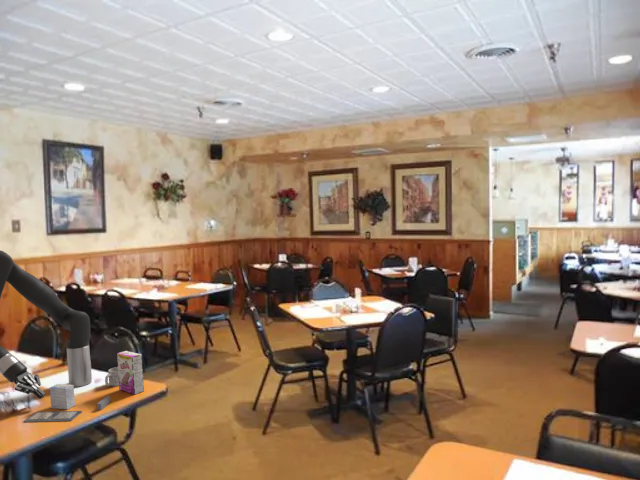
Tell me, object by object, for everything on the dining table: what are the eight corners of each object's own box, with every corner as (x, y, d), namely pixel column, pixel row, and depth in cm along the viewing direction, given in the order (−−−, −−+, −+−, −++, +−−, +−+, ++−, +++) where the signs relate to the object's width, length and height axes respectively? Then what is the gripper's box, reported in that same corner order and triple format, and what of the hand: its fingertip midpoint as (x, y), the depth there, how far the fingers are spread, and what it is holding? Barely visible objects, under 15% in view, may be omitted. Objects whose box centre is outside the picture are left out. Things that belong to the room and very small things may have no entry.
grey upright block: (75, 405, 199) (74, 384, 198) (67, 410, 195) (65, 388, 194) (59, 404, 201) (57, 383, 201) (50, 408, 197) (49, 387, 196)
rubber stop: (106, 402, 201) (106, 396, 201) (110, 402, 201) (110, 396, 201) (97, 410, 193) (96, 403, 193) (101, 410, 193) (100, 403, 193)
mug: (116, 380, 227) (115, 366, 227) (128, 381, 225) (127, 367, 225) (100, 388, 218) (99, 373, 218) (112, 389, 216) (111, 374, 215)
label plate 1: (36, 413, 193) (36, 411, 193) (59, 412, 192) (59, 411, 192) (23, 422, 185) (23, 420, 185) (47, 421, 184) (47, 419, 184)
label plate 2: (59, 412, 192) (59, 411, 192) (82, 412, 192) (82, 410, 192) (47, 421, 184) (47, 419, 184) (71, 420, 184) (71, 419, 184)
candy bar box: (118, 390, 214) (116, 353, 213) (128, 386, 218) (126, 350, 217) (134, 395, 208) (132, 356, 207) (144, 391, 212) (142, 353, 211)
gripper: (5, 366, 191) (39, 396, 191) (27, 355, 204) (58, 384, 204) (-7, 379, 191) (26, 410, 191) (15, 368, 204) (46, 397, 205)
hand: (43, 396), depth 198 cm, fingers closed
